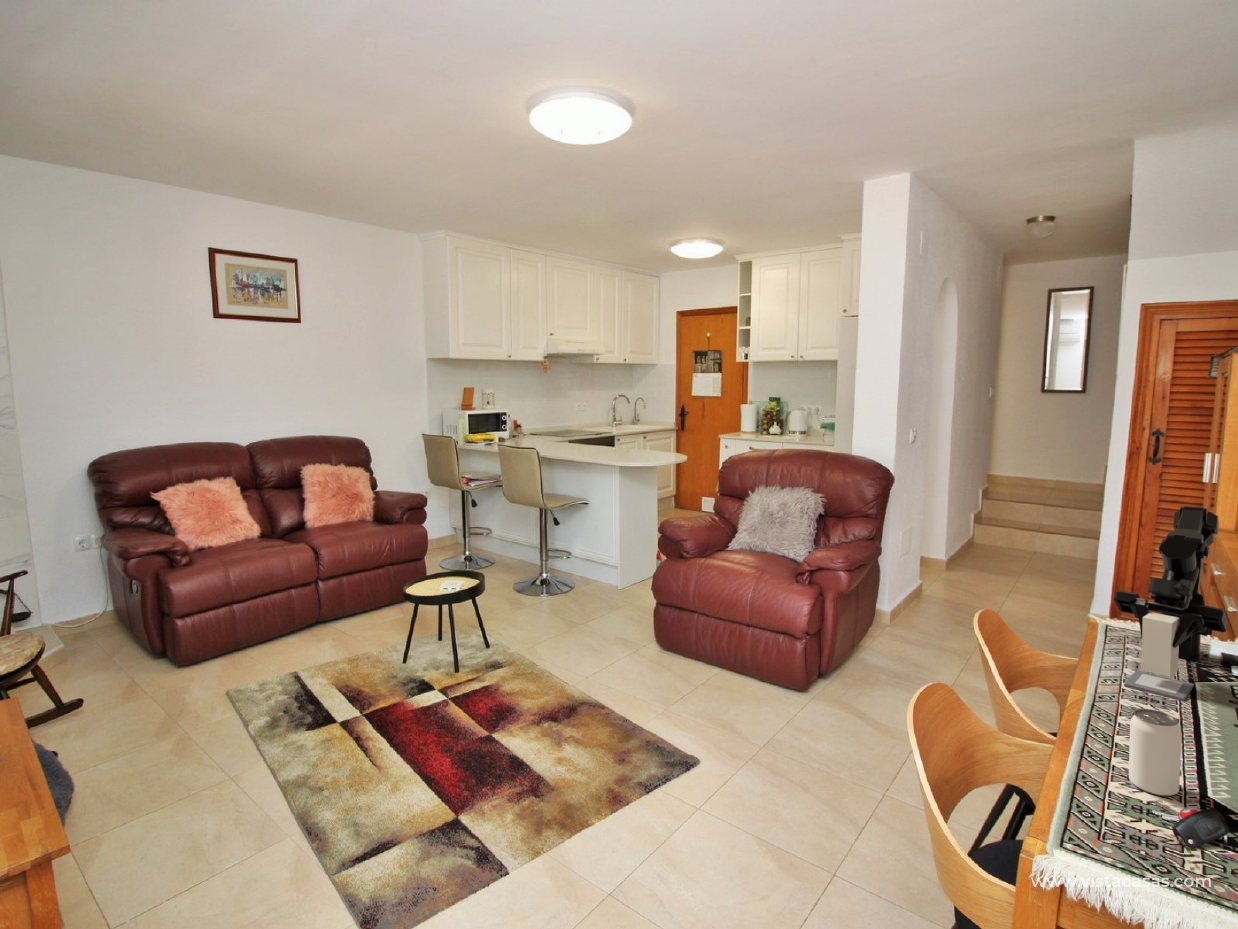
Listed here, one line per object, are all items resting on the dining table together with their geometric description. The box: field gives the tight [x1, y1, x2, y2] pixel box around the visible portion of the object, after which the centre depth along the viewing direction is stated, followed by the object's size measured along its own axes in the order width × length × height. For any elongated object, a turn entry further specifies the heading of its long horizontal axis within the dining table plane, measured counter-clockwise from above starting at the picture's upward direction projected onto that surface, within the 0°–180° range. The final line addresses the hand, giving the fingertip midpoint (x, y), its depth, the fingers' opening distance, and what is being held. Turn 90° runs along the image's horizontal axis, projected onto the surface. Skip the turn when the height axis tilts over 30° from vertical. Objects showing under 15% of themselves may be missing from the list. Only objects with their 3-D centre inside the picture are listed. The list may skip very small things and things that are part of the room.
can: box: [1128, 708, 1182, 797], centre depth 105 cm, size 6×6×12 cm
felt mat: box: [1123, 669, 1195, 702], centre depth 140 cm, size 10×10×1 cm
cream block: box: [1140, 611, 1180, 678], centre depth 139 cm, size 5×5×12 cm
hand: (1158, 643), depth 138 cm, fingers closed on cream block, 5 cm apart
